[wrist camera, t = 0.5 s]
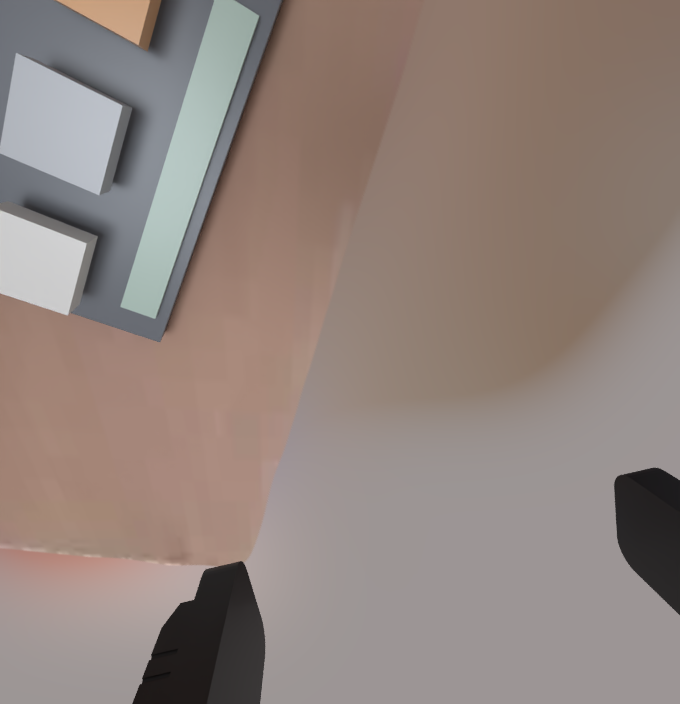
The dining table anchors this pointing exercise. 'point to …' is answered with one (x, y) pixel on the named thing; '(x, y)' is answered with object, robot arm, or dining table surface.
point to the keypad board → (141, 140)
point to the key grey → (63, 126)
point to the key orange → (120, 17)
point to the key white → (43, 259)
